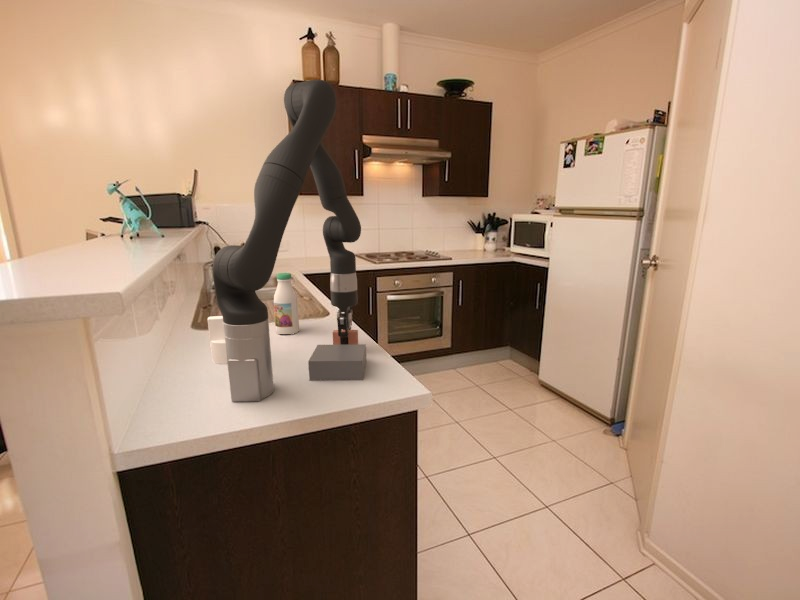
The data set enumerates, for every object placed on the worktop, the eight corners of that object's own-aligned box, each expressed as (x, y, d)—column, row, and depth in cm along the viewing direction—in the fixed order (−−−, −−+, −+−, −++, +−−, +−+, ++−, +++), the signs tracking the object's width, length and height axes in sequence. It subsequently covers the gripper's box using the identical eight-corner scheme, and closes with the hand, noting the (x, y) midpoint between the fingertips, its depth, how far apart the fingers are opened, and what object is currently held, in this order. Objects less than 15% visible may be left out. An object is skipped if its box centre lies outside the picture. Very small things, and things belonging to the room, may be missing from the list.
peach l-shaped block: (352, 377, 100) (352, 354, 99) (320, 377, 100) (319, 354, 98) (360, 349, 120) (359, 329, 118) (332, 349, 120) (332, 329, 118)
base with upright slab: (209, 365, 108) (204, 322, 106) (214, 354, 117) (210, 314, 114) (245, 362, 111) (241, 319, 108) (247, 351, 119) (244, 311, 116)
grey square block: (362, 380, 99) (362, 360, 98) (309, 380, 99) (308, 361, 98) (366, 360, 111) (366, 343, 110) (319, 361, 111) (318, 343, 110)
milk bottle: (288, 327, 142) (284, 271, 138) (304, 330, 138) (300, 272, 134) (270, 333, 136) (266, 274, 131) (287, 337, 132) (283, 276, 128)
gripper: (354, 293, 108) (356, 354, 111) (359, 283, 121) (360, 337, 125) (326, 293, 107) (329, 354, 111) (334, 283, 121) (336, 337, 125)
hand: (345, 345), depth 118 cm, fingers open, 5 cm apart
